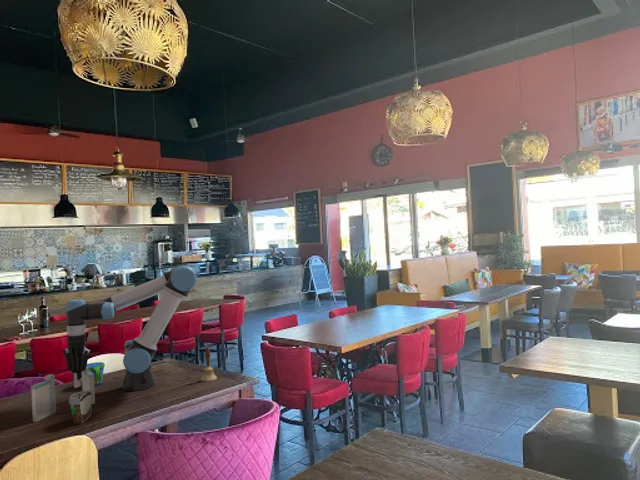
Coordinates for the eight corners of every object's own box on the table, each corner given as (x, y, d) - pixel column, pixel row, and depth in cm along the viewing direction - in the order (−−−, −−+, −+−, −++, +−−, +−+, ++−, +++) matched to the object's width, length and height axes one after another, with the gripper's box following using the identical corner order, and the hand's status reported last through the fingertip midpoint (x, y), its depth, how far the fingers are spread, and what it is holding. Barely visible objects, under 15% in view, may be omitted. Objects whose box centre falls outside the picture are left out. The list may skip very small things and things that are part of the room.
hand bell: (220, 377, 241) (218, 346, 241) (208, 382, 234) (206, 350, 234) (208, 376, 245) (207, 345, 245) (196, 380, 238) (195, 348, 238)
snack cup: (108, 385, 237) (107, 365, 238) (85, 390, 231) (84, 369, 231) (102, 379, 250) (101, 360, 250) (80, 383, 244) (79, 364, 244)
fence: (89, 396, 221) (87, 361, 222) (37, 421, 190) (35, 381, 190) (84, 396, 222) (82, 361, 222) (31, 421, 190) (30, 381, 191)
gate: (87, 393, 220) (86, 366, 220) (95, 403, 205) (93, 374, 205) (83, 394, 219) (81, 367, 219) (90, 404, 204) (88, 374, 204)
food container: (77, 415, 196) (76, 390, 196) (92, 413, 196) (91, 389, 196) (63, 426, 183) (62, 400, 183) (80, 424, 184) (79, 399, 184)
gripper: (57, 335, 210) (58, 388, 210) (83, 336, 207) (84, 390, 207) (69, 332, 217) (70, 383, 217) (94, 332, 215) (95, 384, 215)
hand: (77, 386), depth 212 cm, fingers closed
